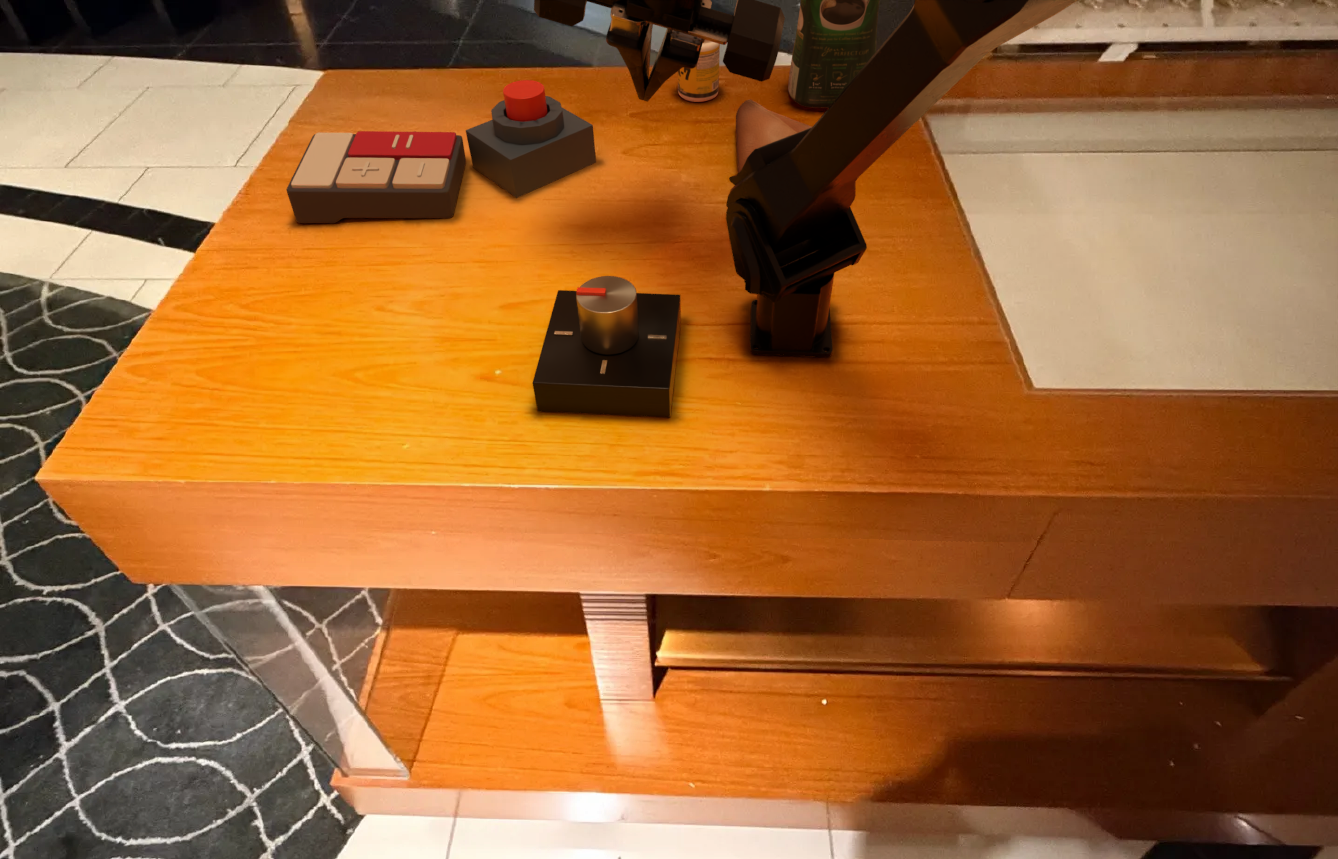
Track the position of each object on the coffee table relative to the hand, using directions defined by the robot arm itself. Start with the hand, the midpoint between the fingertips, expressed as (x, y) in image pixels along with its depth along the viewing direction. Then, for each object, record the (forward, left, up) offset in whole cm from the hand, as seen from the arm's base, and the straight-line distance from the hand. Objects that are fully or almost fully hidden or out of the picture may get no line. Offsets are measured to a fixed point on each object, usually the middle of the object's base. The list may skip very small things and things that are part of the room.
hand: (644, 97), depth 73 cm
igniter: (+9, +13, -12) cm, 20 cm away
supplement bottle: (+26, -3, -12) cm, 29 cm away
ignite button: (+9, +13, -6) cm, 17 cm away
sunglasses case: (+9, -12, -12) cm, 19 cm away
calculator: (+3, +27, -12) cm, 30 cm away
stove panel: (-21, +1, -12) cm, 24 cm away
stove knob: (-21, +1, -9) cm, 23 cm away
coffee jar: (+26, -18, -12) cm, 34 cm away
